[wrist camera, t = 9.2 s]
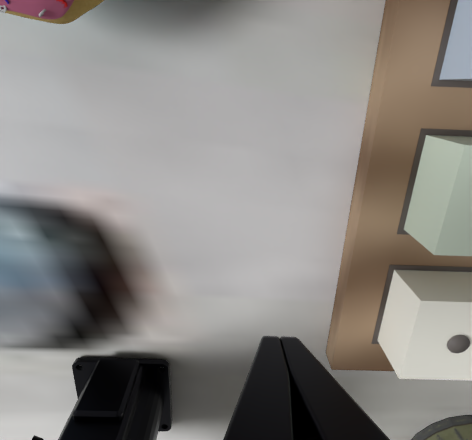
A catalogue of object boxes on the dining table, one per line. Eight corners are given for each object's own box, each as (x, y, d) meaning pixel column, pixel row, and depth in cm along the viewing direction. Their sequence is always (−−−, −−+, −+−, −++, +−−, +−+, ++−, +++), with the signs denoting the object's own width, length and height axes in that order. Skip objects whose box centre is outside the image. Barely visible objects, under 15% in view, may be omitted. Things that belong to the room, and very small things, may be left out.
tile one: (456, 342, 21) (492, 382, 18) (377, 340, 21) (400, 380, 18) (480, 272, 19) (524, 305, 17) (394, 269, 19) (422, 302, 16)
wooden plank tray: (468, 356, 24) (483, 373, 22) (325, 352, 23) (331, 370, 22) (638, -104, 14) (682, -125, 13) (405, -116, 14) (424, -139, 13)
